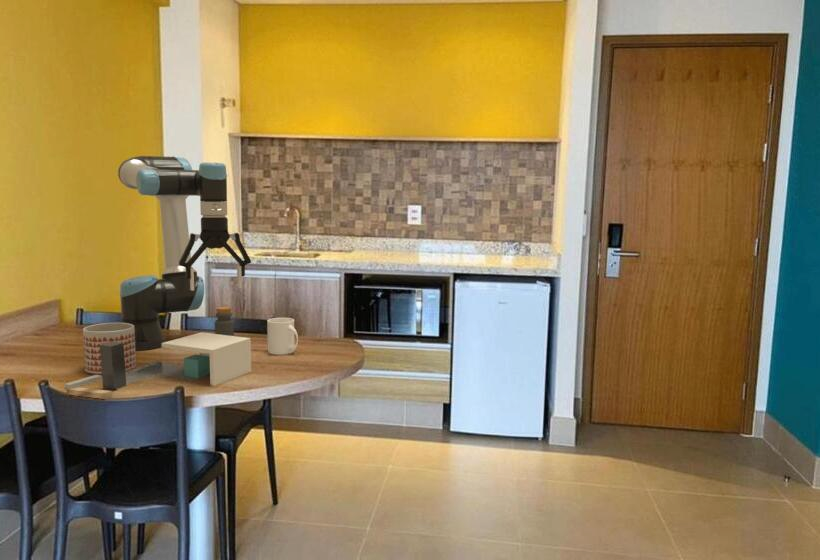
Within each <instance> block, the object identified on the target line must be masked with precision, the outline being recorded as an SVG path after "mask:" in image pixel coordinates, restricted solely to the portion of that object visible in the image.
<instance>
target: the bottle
mask: <svg viewBox="0 0 820 560" xmlns="http://www.w3.org/2000/svg"><path fill="white" fill-rule="evenodd" d="M215 309H216V313H215V317H216V318H217V320H215V321H214V334H220V335H228V336H235V332H234V331H235V329H234V320H233V319H232V318H231V317H233V312H231V311H232V306H218V307H216V308H215Z"/></svg>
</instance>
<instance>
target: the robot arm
mask: <svg viewBox="0 0 820 560" xmlns="http://www.w3.org/2000/svg"><path fill="white" fill-rule="evenodd" d="M198 168H199V169H197V170H196V169H195V170H194V169H193V168H192V165H191V163H190V161H188V160H187V158H185V157H179V156H178V157H176V156H153V155H152V156H151V155H137V156H132V157H130V158H127V159H125V160H124V161H122V163H121V164H120V165H119V167H118V170H117V176H118V178H119V181H120V182H121V184H123V185H124V186H125V187H127V188H129V189H133V190H137V192H138V193H139V195H141V196H151V197H155V198H156V199H157V200H158V201H159V206H160V207H159V208H160V218H161V229H162V231H161V232H162V241H163V250H164V251H163V253H164V262H165V270H164V271H163V272H162V273H161V278H159V277H158V276H157V275H154V274H153V275H152V274H151V275H140V276H133V277H130V278H127V279H124V280H123V281H122V282H121V283H120V287H119V288H120V290H119V297H120V312H121V323H129V324H132V325H134V329H135V351H145V350H153V349H157V348H162V343H164V342H166V337H165V334H164V333H163V330H162V326H161V324H160V317H159V316H160V314H167V313H169V314H170V313H178V312H189V311H196V310H198V309H199V308H201V306H202V304H203V302H204V297H205V283H204V279H203V277H202V276H199V275H198V272H197V270H196V269H195V268H194V267H193V265H194V264H195V263H196V261H197V260H198V259H199V257H200V256H201V255H202V254H203V253H204V252H205V251H206V249H210V250H213V249H218V250H219V249H223V248H224V249H225V250H226V252H228V253H229V254H230V255H231V257H232V258H233V259H234V260H235V261H236V262H237V265H236V280H237V281H236V282H237V284H236V287H237V288H238V289H242V287H243V282H242V281H243V280H242V277H245V275H246V265H248V264H251V263H252V260H251V258H250V257H249V255H248V253H247V250H246V249H245V247H244V246H243V243H242V241H241V238H240V237H241V236H240V234H239V232H232V233H229V226H228V224H229V223H228V222H229V221H228V220H229V219H228V217H226V216H228V189H227V188H228V185H227V184H228V181H227V180H228V179H227V178H228V173H227V167H226V164H225V163H223V162H201V163H200V164H199V166H198ZM193 196H196V197H197V196H198V197H199V199H200V200H199V201H200V203H199V204H200V205H199V207H200V208H199V209H200V216H201V218H200V234H196V233H194V232H192V233H191V232H190V233H189V223H188V222H189V221H188V211H187V201H186V200H187V199H188V197H193ZM230 238H231V240H232V241H234V243H235V245H236V247H237V248H238V251H239V252H240V254H241V256H242V257H243V259H242V258H241V257H240V256H239V254H238V253H236V252H235V250H234V249H233V248H232V247H231V246H230V245H229V244H228V241H229V240H230ZM198 239H200V241H201V242H202V243H201V244H200V245H199V247H198V249H197V250H196V251H195V252H194V253H193V255H192V254H191V253H192V252H191V251H192V249H193V248H194V245H195V242H197V241H198Z"/></svg>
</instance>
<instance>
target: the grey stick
mask: <svg viewBox="0 0 820 560" xmlns="http://www.w3.org/2000/svg"><path fill="white" fill-rule="evenodd" d="M99 381H103V379H102V375H91V376H87V377H84V378H80V379H76V380H73V381H70V382H67V383H64V389H66V390H67V389H69V388H71V387H82V386H85V385H89V384H92V383H96V382H99Z"/></svg>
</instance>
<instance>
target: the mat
mask: <svg viewBox="0 0 820 560" xmlns="http://www.w3.org/2000/svg"><path fill="white" fill-rule="evenodd" d="M162 368H163V372H161V373H159V374H156V375H155V376H159V377H163V378H164V377H166V378H172V379H177V380H185V381H191V382H195V381H197V380H200V379H203V378H206V377H210V374H207V375H205V376H202V377H199V378H196V377H190V376H184V365H182V364H181V365H179V364H173V363H165V362H162Z"/></svg>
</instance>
